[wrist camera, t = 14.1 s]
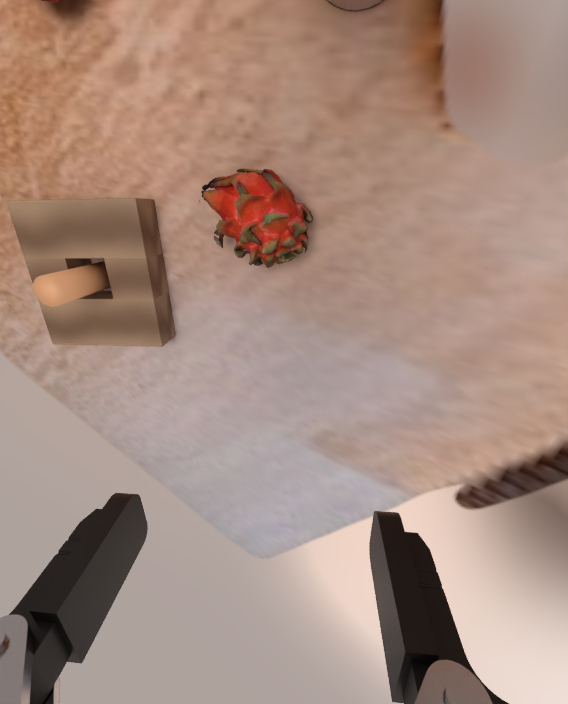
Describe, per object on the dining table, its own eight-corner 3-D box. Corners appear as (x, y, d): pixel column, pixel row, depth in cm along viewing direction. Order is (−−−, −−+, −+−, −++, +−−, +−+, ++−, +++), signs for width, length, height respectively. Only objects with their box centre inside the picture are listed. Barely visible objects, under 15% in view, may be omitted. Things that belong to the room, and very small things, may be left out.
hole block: (36, 201, 36) (5, 200, 33) (153, 199, 35) (135, 198, 32) (75, 333, 43) (53, 344, 39) (175, 335, 42) (162, 346, 38)
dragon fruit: (311, 255, 38) (227, 198, 38) (343, 193, 30) (238, 123, 30) (276, 300, 33) (180, 237, 33) (304, 241, 26) (181, 160, 26)
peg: (96, 260, 39) (28, 275, 30) (119, 260, 38) (58, 275, 29) (102, 285, 40) (38, 306, 31) (124, 285, 40) (67, 307, 30)
